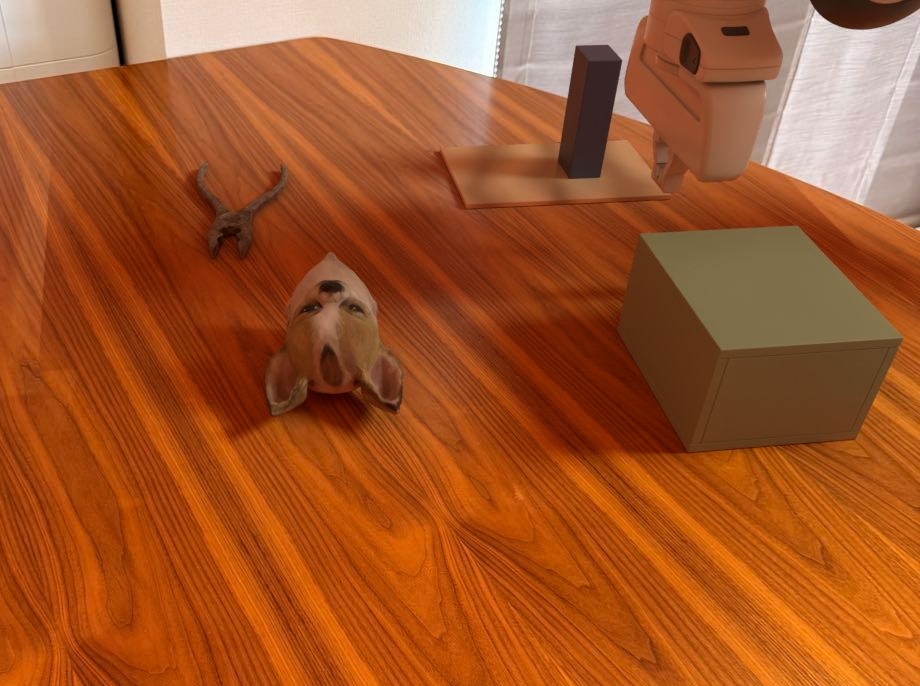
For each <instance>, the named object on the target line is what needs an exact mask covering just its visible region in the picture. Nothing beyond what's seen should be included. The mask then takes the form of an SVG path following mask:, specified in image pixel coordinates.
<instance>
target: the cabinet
mask: <svg viewBox="0 0 920 686" xmlns="http://www.w3.org/2000/svg"><path fill="white" fill-rule="evenodd" d="M626 285H627V286H626V289H625V294H624V298H623V301H622V307H621V311H620V315H619V320H618V324H617V329H616V332H617V334H618V335H619V337H620V340H622V342H623V345H624V346H625V347H626V349H627V351H628V352H629V354H630V356H631V358H632V359H633V361H634V364H635V365H636V366H637V368H638V370H639V372H640V373H641V375H642V377H643V379H644V380H645V382H646V384H647V385H648V387H649V389H650V391H651V392H652V394H653V396H654V397H655V399H656V401H657V402H658V404H659V406H660V408H661V410H662V411H663V413H664V415H665V416H666V418H667V419H668V422H669V423H670V424H671V427H672V428H673V430H674V432H675V433H676V436H677V437H678V439H679V440H680V442H681V444H682V445H683V447H684V449H685V450H686V452H687V453H688V454H689V453H699V452H712V451H724V450H737V449H747V448H748V449H749V448H750V449H751V448H761V447H762V448H763V447H773V446H786V445H797V444H798V445H799V444H811V443H822V442H823V443H824V442H837V441H848V440H857V438H858V437H859V433H860V431H861V429H862V427H863V426H864V423H865V421H866V419H867V417H868V414H869V412H870V410H871V408H872V406H873V405H874V402H875V400H876V398H877V396H878V393H879V391H880V389H881V387H882V385H883V383H884V380H885V379H886V377H887V374H888V372H889V371H890V368H891V366H892V364H893V362H894V360H895V357H896V356H897V353H898V352H899V350H900V347H901V345H902V343H903V340H904V336H903V335H902V334H901V333H900V332H899V331H898V330H897V329H896V327H894V326H893V325H892V323H890V322H889V320H888V319H887V318H886V317H885V316H884V315H883V314H882V313H881V312H880V311H879V310H878V309H877V308H876V306H874V305H873V303H872V302H871V301H870V300H869V299H868V298H867V297H866V296H865V295H864V293H862V292H861V290H859V289H858V288H857V286H855V285H854V283H853V282H852V281H851V280H850V279H849V278H848V277H847V276H846V274H844V273H843V271H841V269H839V267H838V266H837V265H836V264H835V263H834V262H833V261H832V260H831V258H829V257H828V256H827V255H826V254H825V253H824V252H823V251H822V250H821V248H819V246H818V245H817V244H816V243H815V242H814V241H813V240H812V239H811V238H810V237H809V236H808V235H807V234H806V233H805V232H804V230H802V229H801V227H799V225H781V226H765V227H764V226H763V227H762V226H761V227H743V228H742V227H740V228H723V229H722V228H721V229H704V230H683V231H681V230H680V231H665V232H645V233H643V232H641V233H638V237H637V242H636V245H635V250H634V254H633V259H632V263H631V268H630V272H629V277H628V281H627V284H626Z"/></svg>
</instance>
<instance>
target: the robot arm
mask: <svg viewBox="0 0 920 686" xmlns="http://www.w3.org/2000/svg"><path fill="white" fill-rule="evenodd" d="M766 2H767V0H650V4H649V9H648V15H644V16H643V17H642V18H641V19H640V21H639V23H638V25H637V28H636V29H635V34H634V37H633V40H632V44H631V49H630V52H629V57H628V61H627V65H626V69H625V74H624V80H623V82H624V84H623V85H624V96H625V97H626V98H627V99H628V100H629V102H631V104H632V105H633V106H634V108H636V109H637V111H638V112H639V113H640V114H641V115H642V116H643V118H644V119H645V120H646V121H647V123H648V124H649V125H650V126H651V127H652V128H653V134H652V153H653V154H652V155H653V163H652V168H651V170H652V173H651V178H652V179H653V180H654V182H655V183H656V184H657V185H658V186H659V188H660V189H661V190H662V192H663V193H670V194H676V193H678V192H679V191H681V189H682V185H683V181H684V177H685V175H686V173H687V172H688V171H689V172H691V174H692V175H693V176H694V177H695V178H696V180H697V181H699V182H700V183H724V182H734V181H736V180H738V179H739V177H741V175H743V173H745V171H746V169H747V168H748V166H749V164H750V160H751V158H752V155H753V152H754V150H755V145H756V142H757V140H758V136H759V133H760V130H761V127H762V123H763V119H764V115H765V113H766V108H767V102H768V87H767V82H766V81H771V80H775V79H777V77H778V76H779V73H780V71H781V68H782V63H783V59H784V54H783V50H782V46H781V44H780V42H779V41H778V38H777V37H776V34H775V32H774V29H773V27H772V23H771V19H770V14H769V10H768V8H767V7H766ZM809 2H810V4H811V5H812V8H814V10H815V11H816V13H817V14H819V15H820V17H822V18H823V19H824V20H825V21H827V22H828V23H830V24H832V25H835V26H837V27H839V28H842V29H846V30H853V31H854V30H855V31H866V30H867V31H868V30H874V29H875V30H876V29H880V28H884V27H886V26H890V25H892V24H896V23H898V22H900V21H902V20H904V19H906V18H908V17H909V16H911V15H913V14H914V13H916V12H917V11H918V10H920V0H809Z"/></svg>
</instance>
